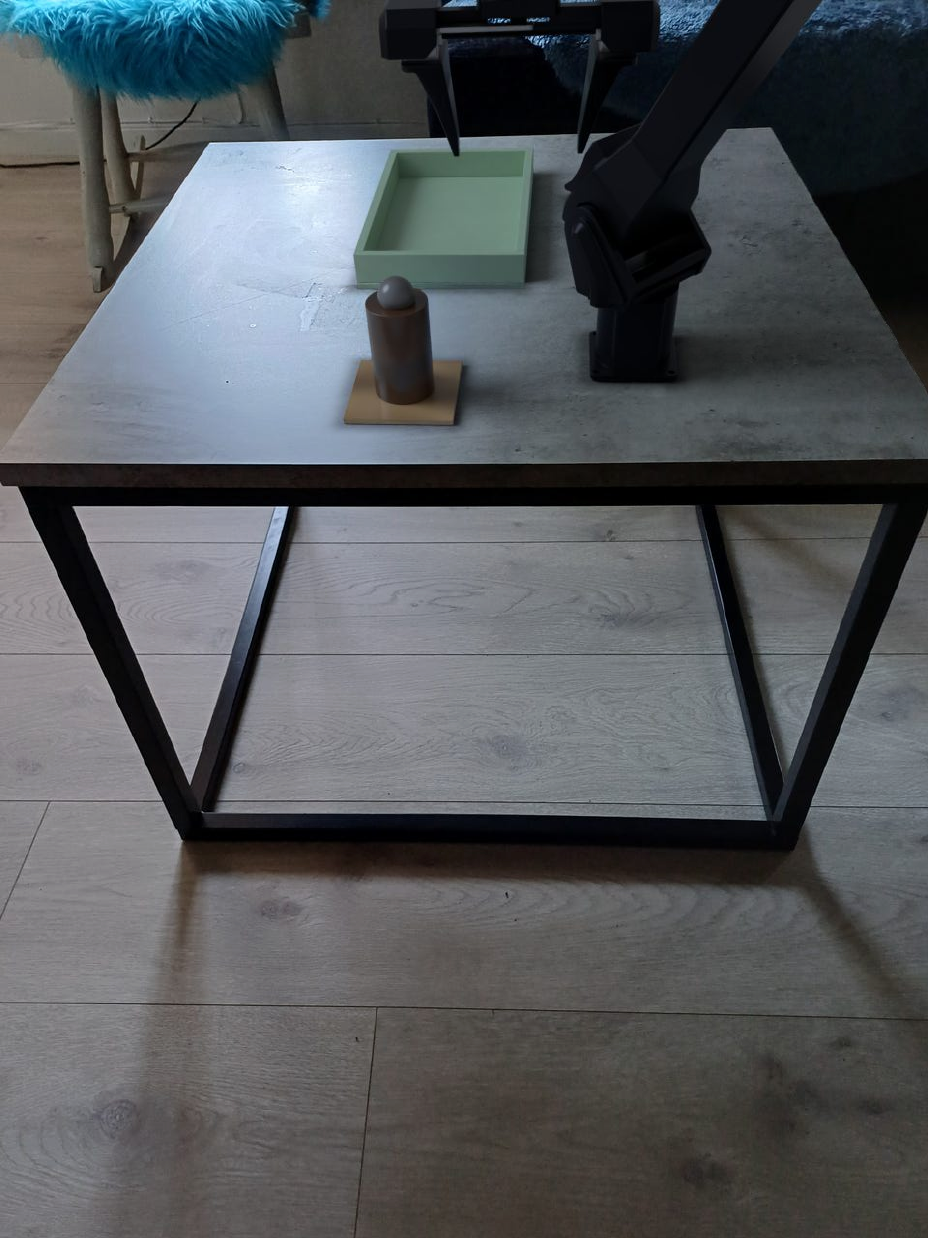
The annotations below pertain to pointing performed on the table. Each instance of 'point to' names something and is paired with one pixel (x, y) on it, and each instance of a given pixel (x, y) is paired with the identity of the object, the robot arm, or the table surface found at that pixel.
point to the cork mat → (427, 412)
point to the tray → (449, 219)
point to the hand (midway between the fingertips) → (518, 153)
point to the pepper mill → (400, 342)
